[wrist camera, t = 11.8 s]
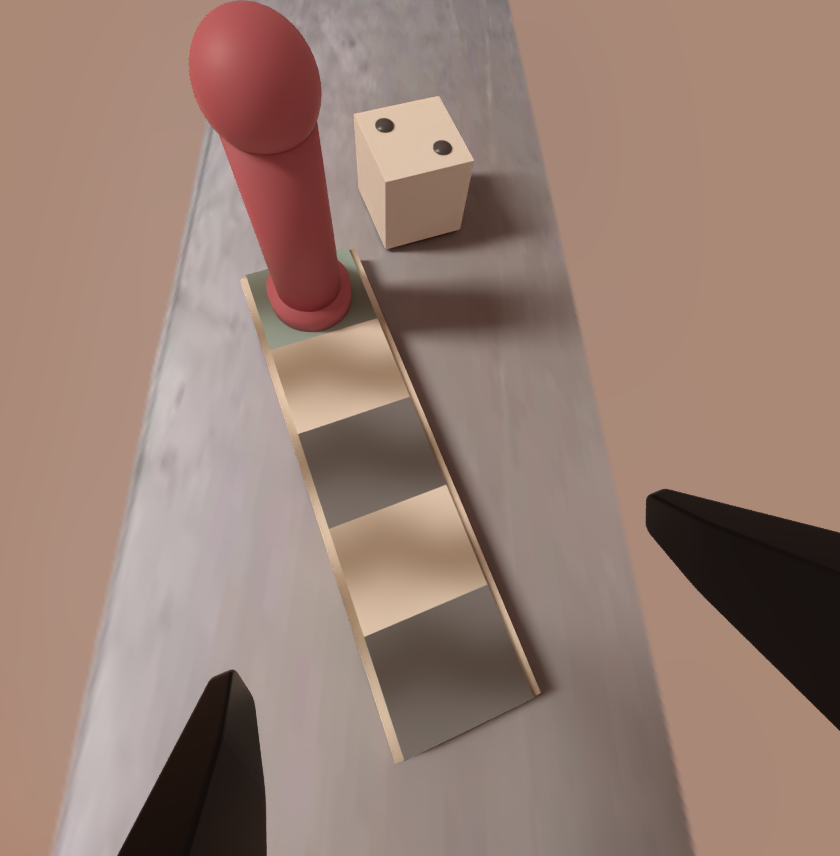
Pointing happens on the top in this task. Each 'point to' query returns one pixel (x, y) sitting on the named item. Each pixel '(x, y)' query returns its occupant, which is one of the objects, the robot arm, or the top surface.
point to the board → (392, 525)
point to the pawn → (274, 153)
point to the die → (412, 170)
